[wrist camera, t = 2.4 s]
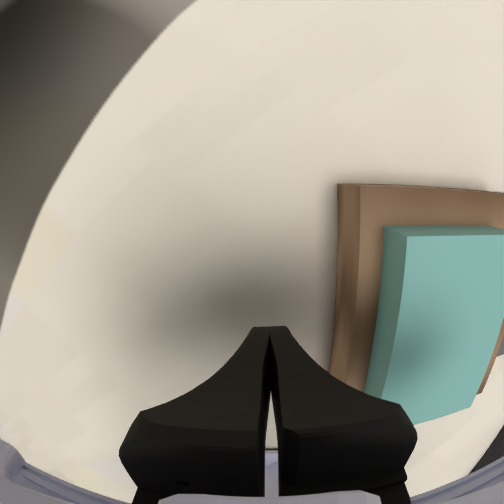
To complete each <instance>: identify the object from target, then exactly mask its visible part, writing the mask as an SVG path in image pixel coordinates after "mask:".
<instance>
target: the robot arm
mask: <svg viewBox="0 0 504 504" xmlns="http://www.w3.org/2000/svg"><path fill="white" fill-rule="evenodd" d="M270 393H271V394H272V402H273V409H274V416H275V423H276V430H277V440H278V450H270V451H265V440H266V429H267V420H268V412H269V403H270ZM416 442H417V432H416V430H415V428H414V426H413V424H412V422H411V420H410V418H409V417H408V415H407V414H406V412H405V411H404V409H403V408H402V406H401V405H400V404H398V403H394V402H391V401H387V400H384V399H380V398H377V397H374V396H371V395H369V394H366V393H364V392H362V391H359V390H357V389H355V388H353V387H351V386H349V385H347V384H346V383H344V382H342V381H340V380H339V379H337V378H335V377H334V376H332V375H331V374H330V373H328V372H327V371H326V370H324V369H323V368H322V367H320V366H319V365H318V364H317V363H316V362H315V361H314V360H313V359H312V358H311V357H310V356H309V355H308V354H307V353H306V352H305V351H304V349H303V348H302V347H301V346H300V345H299V344H298V342H297V341H296V340H295V338H294V337H293V336H292V334H291V333H290V331H289V329H288V328H287V327H286V326H272V327H253V328H252V329H251V330H250V332H249V334H248V336H247V337H246V339H245V340H244V342H243V343H242V345H241V346H240V347H239V348H238V350H237V351H236V352H235V354H234V355H233V356H232V357H231V358H230V359H229V360H228V361H227V363H226V364H225V365H224V366H223V367H222V368H221V369H220V370H219V371H217V372H216V373H215V374H214V375H213V376H212V377H210V378H209V379H208V380H206V381H205V382H203V383H202V384H200V385H199V386H197V387H196V388H194V389H193V390H191V391H189V392H188V393H186V394H184V395H182V396H180V397H178V398H176V399H174V400H171V401H169V402H167V403H164V404H161V405H159V406H156V407H153V408H150V409H147V410H144V411H140V413H139V414H138V416H137V417H136V419H135V420H134V422H133V423H132V425H131V427H130V429H129V431H128V433H127V435H126V437H125V439H124V441H123V443H122V445H121V447H120V449H119V457H120V460H121V462H122V464H123V466H124V467H125V469H126V471H127V472H128V474H129V475H130V477H131V478H132V480H133V481H134V483H135V484H136V486H137V487H138V488H137V491H136V494H135V496H134V499H133V502H132V504H504V456H503V457H502V458H500V459H498V460H496V461H494V462H493V463H491V464H489V465H487V466H485V467H483V468H481V469H479V470H477V471H475V472H473V473H471V474H469V475H467V476H465V477H463V478H460V479H458V480H456V481H453V482H451V483H449V484H446V485H444V486H441V487H439V488H436V489H433V490H431V491H428V492H425V493H422V494H419V495H416V496H413V497H409V494H408V491H407V489H406V486H405V483H404V482H406V480H407V475H406V472H405V469H404V466H405V464H406V463H407V461H408V459H409V457H410V455H411V453H412V451H413V450H414V448H415V445H416ZM0 504H130V503H127V502H123V501H120V500H116V499H113V498H110V497H107V496H103V495H100V494H98V493H95V492H92V491H89V490H86V489H84V488H81V487H78V486H76V485H73V484H71V483H69V482H66V481H64V480H61V479H59V478H57V477H55V476H53V475H50V474H48V473H46V472H44V471H42V470H40V469H38V468H36V467H34V466H32V465H30V464H28V463H27V462H25V460H24V458H23V457H22V455H21V454H20V453H19V452H18V451H17V450H16V449H15V448H14V447H13V446H12V445H10V444H9V443H7V442H5V441H4V440H2V439H0Z"/></svg>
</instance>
